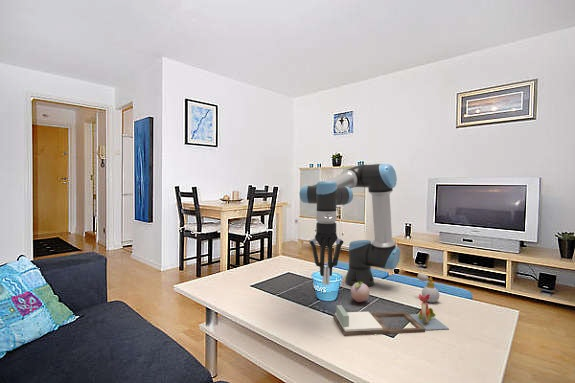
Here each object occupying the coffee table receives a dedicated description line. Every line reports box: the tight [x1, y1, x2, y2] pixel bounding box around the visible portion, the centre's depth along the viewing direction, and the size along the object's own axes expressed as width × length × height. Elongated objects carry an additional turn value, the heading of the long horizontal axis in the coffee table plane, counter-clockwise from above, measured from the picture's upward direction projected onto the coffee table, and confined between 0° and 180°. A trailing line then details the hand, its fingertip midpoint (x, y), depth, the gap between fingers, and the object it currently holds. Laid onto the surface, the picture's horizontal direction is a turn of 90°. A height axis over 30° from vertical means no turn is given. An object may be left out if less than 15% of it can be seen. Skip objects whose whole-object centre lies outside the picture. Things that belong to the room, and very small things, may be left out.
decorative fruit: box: [350, 281, 370, 303], centre depth 139 cm, size 9×8×10 cm
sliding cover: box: [334, 304, 383, 332], centre depth 117 cm, size 14×14×5 cm
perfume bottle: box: [417, 272, 440, 304], centre depth 141 cm, size 8×10×12 cm
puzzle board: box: [333, 311, 426, 337], centre depth 118 cm, size 15×30×1 cm, turn 96°
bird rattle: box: [417, 294, 436, 324], centre depth 119 cm, size 6×11×9 cm
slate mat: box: [408, 313, 450, 332], centre depth 120 cm, size 13×9×1 cm
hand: (325, 284), depth 115 cm, fingers closed
